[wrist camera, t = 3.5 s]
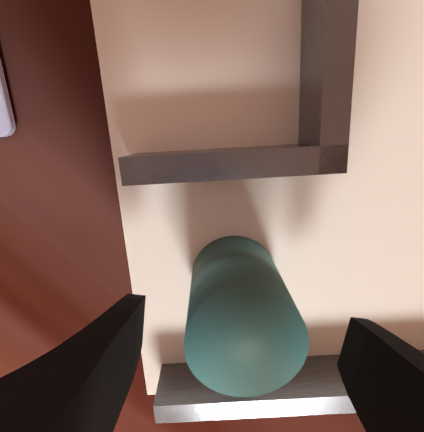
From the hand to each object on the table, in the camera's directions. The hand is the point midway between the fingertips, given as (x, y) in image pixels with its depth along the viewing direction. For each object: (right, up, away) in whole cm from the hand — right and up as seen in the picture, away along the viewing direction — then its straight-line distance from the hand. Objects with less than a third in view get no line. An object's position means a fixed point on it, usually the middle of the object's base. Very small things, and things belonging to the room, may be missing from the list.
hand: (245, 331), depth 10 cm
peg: (0, +1, +4) cm, 4 cm away
